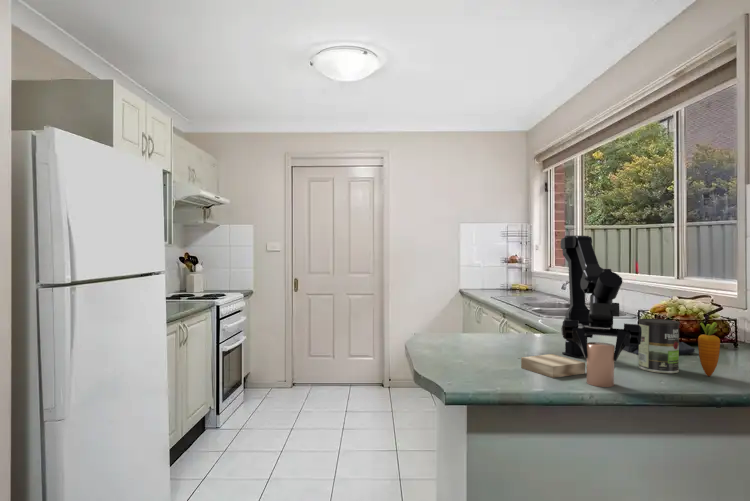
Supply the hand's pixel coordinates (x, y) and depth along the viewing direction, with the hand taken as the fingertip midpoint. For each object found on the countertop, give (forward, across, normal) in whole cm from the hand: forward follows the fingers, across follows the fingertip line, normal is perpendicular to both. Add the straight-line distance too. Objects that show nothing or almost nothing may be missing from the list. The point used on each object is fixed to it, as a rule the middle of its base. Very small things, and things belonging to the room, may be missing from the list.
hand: (600, 358), depth 122 cm
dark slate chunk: (-35, +17, +45) cm, 60 cm away
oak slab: (-2, -12, +12) cm, 17 cm away
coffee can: (-14, +15, +24) cm, 31 cm away
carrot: (-12, +27, +21) cm, 36 cm away
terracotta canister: (+4, 0, +6) cm, 7 cm away
